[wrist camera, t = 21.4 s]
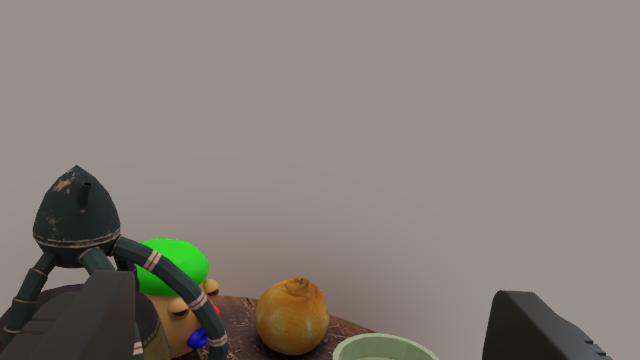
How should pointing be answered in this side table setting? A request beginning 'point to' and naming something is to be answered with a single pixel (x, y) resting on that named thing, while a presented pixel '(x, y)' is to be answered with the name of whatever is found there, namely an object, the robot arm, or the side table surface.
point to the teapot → (103, 266)
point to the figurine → (169, 305)
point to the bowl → (381, 348)
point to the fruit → (292, 316)
